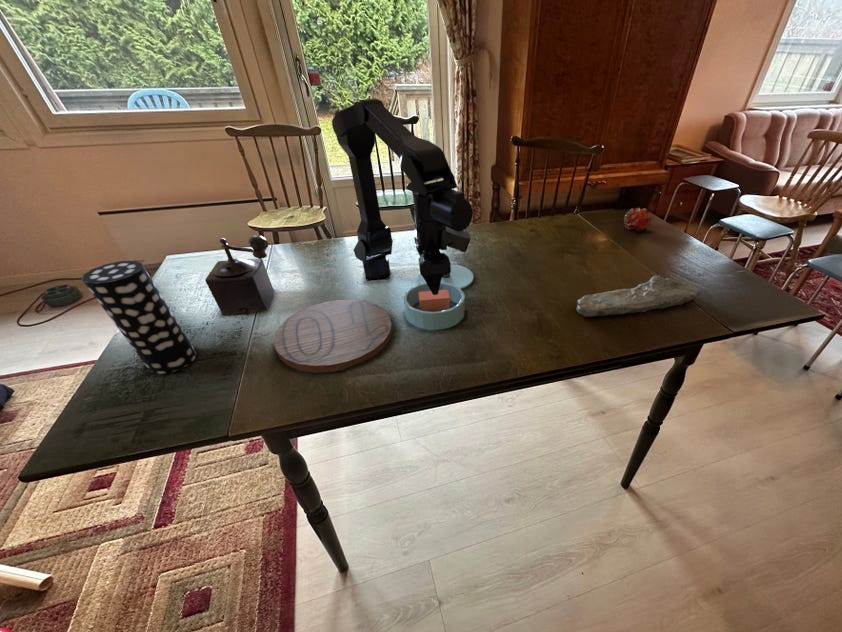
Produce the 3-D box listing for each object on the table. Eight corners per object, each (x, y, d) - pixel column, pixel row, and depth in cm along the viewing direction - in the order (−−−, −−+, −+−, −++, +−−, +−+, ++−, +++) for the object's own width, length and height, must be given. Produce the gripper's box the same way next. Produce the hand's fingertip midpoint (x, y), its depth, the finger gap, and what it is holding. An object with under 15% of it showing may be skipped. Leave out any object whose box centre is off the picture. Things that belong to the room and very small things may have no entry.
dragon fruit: (617, 235, 137) (641, 235, 142) (635, 228, 129) (660, 228, 134) (616, 211, 137) (640, 212, 141) (634, 203, 129) (659, 204, 134)
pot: (407, 334, 85) (405, 316, 82) (404, 301, 96) (402, 284, 93) (469, 328, 88) (469, 310, 85) (459, 296, 98) (459, 279, 95)
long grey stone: (566, 307, 98) (585, 330, 91) (569, 290, 94) (589, 312, 88) (679, 284, 105) (704, 303, 98) (686, 267, 101) (712, 286, 95)
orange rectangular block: (421, 318, 90) (419, 300, 86) (420, 309, 93) (418, 291, 89) (450, 315, 91) (449, 297, 87) (448, 306, 94) (447, 289, 90)
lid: (421, 295, 98) (419, 278, 95) (416, 269, 110) (415, 252, 107) (478, 291, 101) (478, 273, 98) (468, 265, 112) (468, 249, 109)
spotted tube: (163, 348, 80) (103, 261, 67) (204, 347, 80) (153, 260, 67) (139, 374, 73) (68, 283, 60) (184, 373, 74) (123, 282, 61)
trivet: (376, 297, 97) (375, 291, 96) (407, 352, 80) (406, 345, 79) (271, 320, 88) (269, 314, 87) (282, 387, 71) (279, 380, 70)
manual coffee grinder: (220, 317, 89) (182, 244, 77) (232, 294, 97) (199, 225, 85) (289, 310, 92) (263, 239, 80) (295, 288, 100) (272, 221, 88)
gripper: (476, 232, 71) (474, 302, 81) (460, 200, 85) (460, 264, 95) (417, 235, 69) (423, 307, 79) (410, 202, 83) (416, 267, 93)
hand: (433, 284), depth 87 cm, fingers open, 9 cm apart
